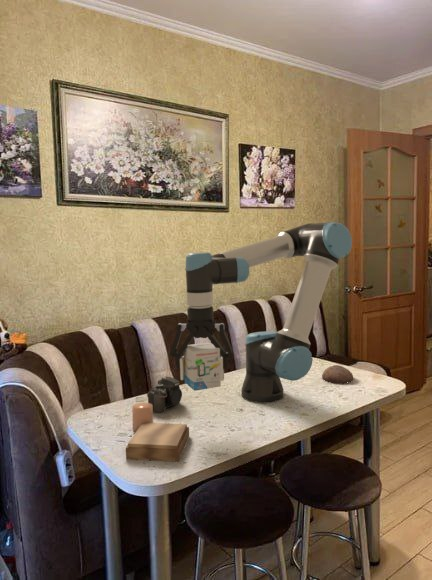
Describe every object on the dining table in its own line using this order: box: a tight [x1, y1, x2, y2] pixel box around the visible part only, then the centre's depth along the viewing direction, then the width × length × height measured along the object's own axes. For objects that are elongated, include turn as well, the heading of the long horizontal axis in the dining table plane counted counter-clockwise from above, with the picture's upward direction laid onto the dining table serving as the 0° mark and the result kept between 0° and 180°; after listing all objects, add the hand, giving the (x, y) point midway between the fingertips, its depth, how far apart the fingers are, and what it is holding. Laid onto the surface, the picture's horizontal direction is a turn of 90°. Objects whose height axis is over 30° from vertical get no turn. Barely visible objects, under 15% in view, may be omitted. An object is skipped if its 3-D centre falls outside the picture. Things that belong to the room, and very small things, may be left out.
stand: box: [125, 422, 190, 463], centre depth 119 cm, size 14×14×4 cm
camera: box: [146, 375, 183, 414], centre depth 149 cm, size 13×10×10 cm
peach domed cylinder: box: [131, 402, 154, 433], centre depth 131 cm, size 6×6×7 cm
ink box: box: [183, 341, 222, 391], centre depth 129 cm, size 8×8×12 cm
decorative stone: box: [321, 364, 354, 384], centre depth 173 cm, size 12×12×6 cm
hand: (202, 379), depth 129 cm, fingers closed on ink box, 11 cm apart
